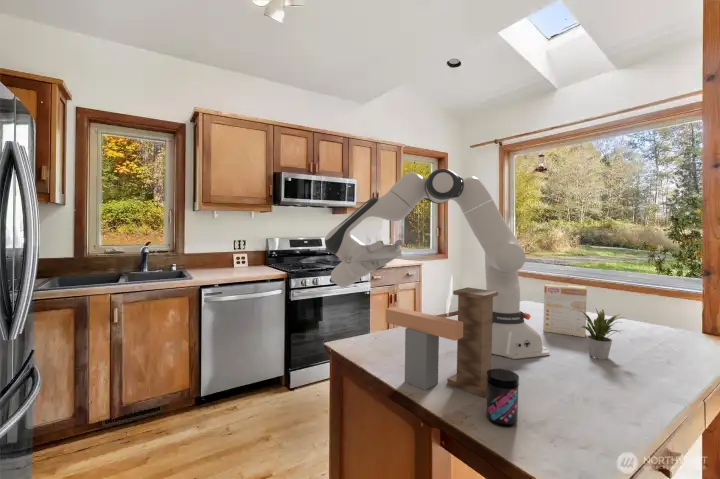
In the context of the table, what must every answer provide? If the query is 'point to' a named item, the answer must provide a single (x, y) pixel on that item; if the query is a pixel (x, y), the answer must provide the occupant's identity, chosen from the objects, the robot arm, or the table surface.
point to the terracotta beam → (425, 323)
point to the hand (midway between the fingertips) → (391, 242)
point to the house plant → (600, 335)
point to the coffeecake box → (565, 309)
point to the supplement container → (502, 397)
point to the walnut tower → (474, 340)
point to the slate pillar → (421, 358)
